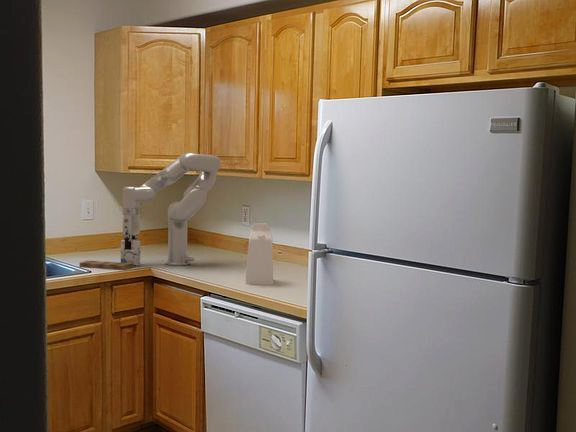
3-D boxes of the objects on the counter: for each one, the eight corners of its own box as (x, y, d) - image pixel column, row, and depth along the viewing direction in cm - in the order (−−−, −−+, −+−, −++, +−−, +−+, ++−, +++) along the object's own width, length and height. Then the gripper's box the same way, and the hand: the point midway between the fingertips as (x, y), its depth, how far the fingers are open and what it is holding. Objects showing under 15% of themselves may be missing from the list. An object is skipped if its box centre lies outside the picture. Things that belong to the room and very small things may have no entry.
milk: (272, 279, 274) (274, 222, 271) (273, 284, 262) (274, 225, 260) (246, 278, 273) (247, 221, 271) (245, 284, 262) (246, 224, 260)
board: (133, 267, 294) (133, 263, 294) (125, 270, 286) (125, 265, 286) (88, 264, 299) (88, 260, 299) (79, 266, 291) (79, 262, 291)
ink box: (120, 263, 297) (120, 240, 296) (125, 262, 302) (125, 238, 301) (135, 265, 295) (135, 241, 294) (140, 263, 299) (140, 239, 298)
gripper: (129, 213, 287) (129, 251, 288) (145, 210, 303) (145, 246, 305) (115, 212, 288) (115, 250, 290) (131, 210, 305) (131, 245, 307)
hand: (130, 248), depth 297 cm, fingers closed on ink box, 5 cm apart
